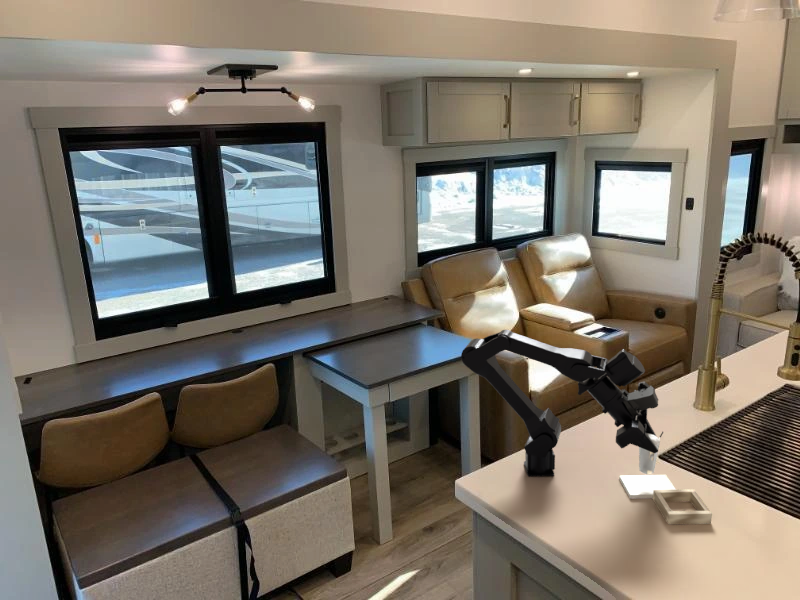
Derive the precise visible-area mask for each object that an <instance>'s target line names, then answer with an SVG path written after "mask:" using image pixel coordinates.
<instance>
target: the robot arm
mask: <svg viewBox="0 0 800 600" xmlns="http://www.w3.org/2000/svg"><path fill="white" fill-rule="evenodd" d="M504 351H508V352H510V353H514V354H515V355H519V356H522V357H525V358H527V359H531V360H533V361H536V362H538V363H541V364H545V365H548V366H550V367H552V368H554V369H555V370H557V371H558V372H559V373H560V374H561V375H562V376H565V377H566V378H569V379H571V380H573V381H574V382H576V383H577V386H578V390H577V391H578V392H577V394H578V395H579V396H581V395H582V394H584V393H586V392H588V394H590V395H591V397H592V398H593V399H595V401H596V402H597V403H598V404H599V405H600V406H601V407H602V409H601V411H602V413H604V415H605V414H608V415H609V416H610V417H611V418H612V419H613V420H614V426H615V427H617V428H618V429H617V430H616V434H615V443H616V444H617V445H618V447H619V448H620V449H624V448H626V447H628V446H629V445H633V446H635V447H638V448H639V447H641V448H643V449H645V450H648V451H650V452H652V453H657V452H658V453H659V448H658V449H657V447H656V446H655V444H654V443H653V441H652V440H651V439H650V437H649V436H648V434H647V433H649V434H652V435H655V436H656V437H658V436H657V434H656V432H655V431H654V429H653V427H652V425H651V424H650V422H649V420H648V418H647V417H648V410H649V409H655V408H657V407H658V406H659V398H658V395H657V393H656V389H655V387H653V386H652V385H650V384H648V383H647V382H646V381H640V382H638V384H637V390H636V389H634V390H633V391H632V392H628V391H627V390H626V389H625V388H622V389H620V387H626V386H627V385H628V384H629V385H630V383H631V382H633V381H635V380H636V379H638V378H639V377H641V376H642V375H643V374H644V373H645V372H646V369H645V367H644V365H643V364H642V362H641V361H640V360H639V359H638V357H636V355H633V354H632V353H631V352H629V351H628V352H627V350H625V349H624V348H623V349H621V350H620V351H619V352H617V353H616V354H615V355H614V356H612V357H611V358H610V359H608V358H605V357H601V356H597V355H592V353H590V351H589V352H588V351H587V350H584V349H579V348H578V349H577V348H572V347H567V348H565V347H562V348H561V347H557V346H554V345H551V344H548V343H544V342H542V341H539V340H536V339H532V338H531V337H527V336H524V335H521V334H518V333H516V332H513V331H512V330H509V329H503V330H501V331H499V332H496V333H493V334H490V335H488V336H485V337H484V338H483V337H482V338H479V337H476V338H473V339H471V340H470V341H469V343H468V344H467V345H465V347H464V348H463V350H462V351H461V355H460V360H461V362H462V363H463V365H464V366H465V367H466V368H468V369H469V370H470V371H471V372H472V373H474V374H476V375H477V376H480V377H482V378H484V379H485V380H486V381H487V382H488V383H489V384H490V385H491V386H492V387H493V388H494V390H495V391H497V393H498V395H500V396H501V397H502V398H503V400H505V402H506V403H507V404H508V405H509V406H510V407H511V408H512V410H513V411H514V412H515V413H516V414H517V415H518V417H520V419H522V421H523V422H524V425H525V427H526V430H527V433H528V438H527V439H526V443H525V444H524V446H523V449H524V451H525V455H524V456H525V458H524V459H525V460H524V461H523V464H524V465H523V466H524V468H525V471H526V475H527V476H528V477H554V476H555V473H554V470H555V469H556V468H555V466H556V465H555V464H556V455H555V452H554V450H553V449H555V447H557V444H558V441H559V439H560V435H561V432H562V425H561V423H560V422H559V421H560V418H559V417H558V416H556V415H555V414H554V413H553V412H552V410H551V409H550V408H549V407H548V408H547V409H545V410H543V409H541V408H539V407H537V405H535V404H534V402H533V401H532V400H531V399H530V397H529V396H528V395H526V394H525V393H524V391H523V389H521V388H520V387H519V385H517V384H516V383H515V381H513V378H511V377H510V376H509V374H507V372H506V371H505V370H504V369H503V368H502V367H501V366H500V364H499V362H498V359H497V357H496V355H497V354H500V353H501V352H504ZM658 453H657V454H658Z"/></svg>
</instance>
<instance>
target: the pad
mask: <svg viewBox="0 0 800 600" xmlns="http://www.w3.org/2000/svg"><path fill="white" fill-rule="evenodd" d="M618 478H619V479H618V480H619V481H620V483H621V485H622V487H623V489H624V490H625V492H626V494H627V495H628V498H629V499H632V500H635V499H636V500H637V499H640V500H641V499H653V492H654V490H677V488H676V487H675V486H674V484H673V483H672V481H671V480H670V479H669V477H668V476H667V474H639V475H638V474H633V475H631V474H630V475H629V474H628V475H619V477H618Z"/></svg>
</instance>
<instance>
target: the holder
mask: <svg viewBox="0 0 800 600" xmlns="http://www.w3.org/2000/svg"><path fill="white" fill-rule="evenodd" d="M652 501H653V502H654V504H655V505H656V507H657V508H658V510H659V512H660V513H661V515H662V517H663V518H664V520H665V522H666V523H667V524H668V525H699V524H701V525H703V524H704V525H705V524H706V525H707V524H708V525H709V524H711V525H712V516H713V513H712V512H711V510H710V508H708V506H707V505H706V504H705V502H704V501H703V500H702V498H701V497H700V495H699V494H698V493H697V491H696V490H695V489H694V488H691V489H689V488H688V489H685V488H684V489H683V488H681V489H679V488H678V489H676V490H654V492H653V498H652ZM677 502H679V503H682V502H690V503H691V504H692V506H693V507H694V509H695V510H683V511H682V510H676V511H674V510H672V509H671V508H670V506H669V504H668V503H677Z"/></svg>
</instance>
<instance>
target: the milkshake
mask: <svg viewBox="0 0 800 600" xmlns="http://www.w3.org/2000/svg"><path fill="white" fill-rule="evenodd" d="M647 434H648V436H649V437H650V439H651V440H652V441H653V443H654V444H655V446H656V447H657V449H658V450H659V447H660V443H661V440H660V439H661V438H662V436H663V434H664V431H661V433H660V435H659V437H658V436H657V435H656V436H657V437H656V436H655V435H652V434H649V433H647ZM638 450H639V451H638V454H639V455H638V460H639V463H638V467H639V468H638V469H639V472H640V473H642V474H643V475H653V474H654V473H655V470H656V469H655V468H656V465H657V464H656V463H657V457H658V453H659V451H658V452H657V453H652V452H650V451H648V450H645V449H643V448H641V447H638Z"/></svg>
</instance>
